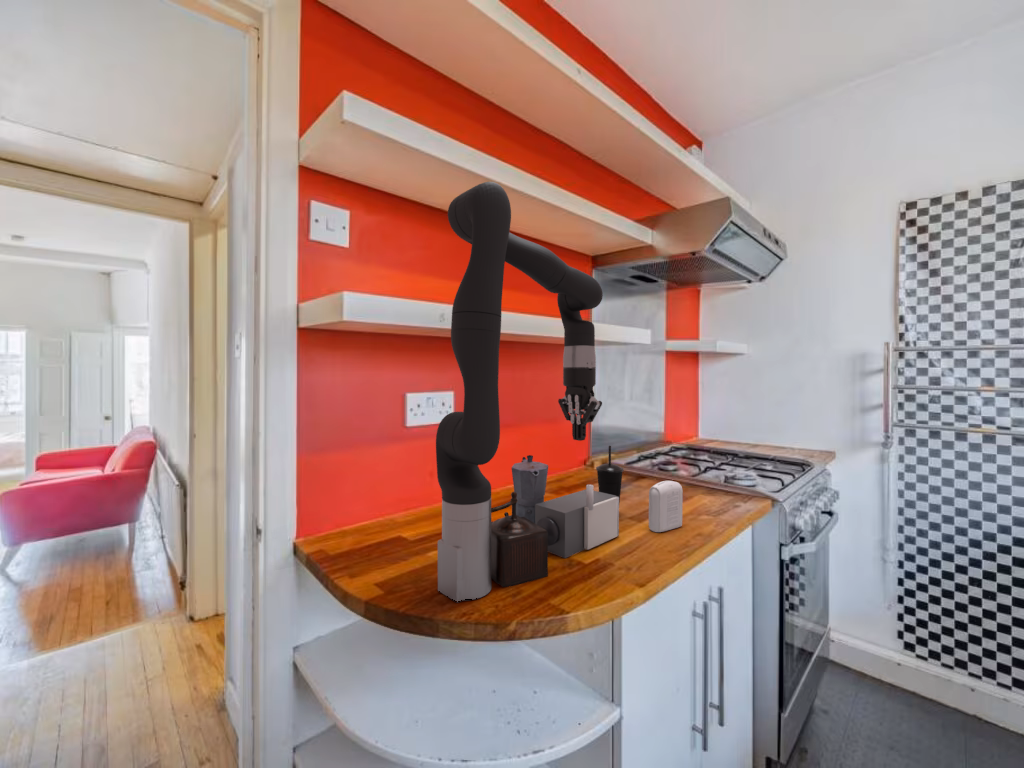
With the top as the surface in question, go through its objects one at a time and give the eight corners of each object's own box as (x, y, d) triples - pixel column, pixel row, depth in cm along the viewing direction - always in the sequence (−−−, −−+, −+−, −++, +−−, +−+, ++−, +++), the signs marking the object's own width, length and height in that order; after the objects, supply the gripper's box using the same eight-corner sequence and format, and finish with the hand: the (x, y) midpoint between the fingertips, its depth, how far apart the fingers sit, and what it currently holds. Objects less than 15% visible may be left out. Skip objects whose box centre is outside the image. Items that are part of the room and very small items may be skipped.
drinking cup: (621, 511, 130) (621, 443, 129) (625, 520, 122) (625, 448, 122) (594, 511, 130) (595, 443, 130) (597, 519, 123) (597, 447, 122)
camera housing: (561, 560, 96) (561, 514, 96) (531, 548, 102) (531, 505, 102) (616, 535, 111) (616, 495, 110) (586, 526, 117) (587, 489, 117)
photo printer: (671, 522, 121) (671, 477, 120) (684, 526, 117) (685, 480, 117) (645, 529, 115) (646, 482, 115) (659, 534, 111) (659, 485, 111)
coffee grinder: (522, 556, 98) (522, 475, 98) (549, 576, 88) (549, 487, 88) (456, 571, 91) (456, 484, 90) (478, 595, 81) (477, 497, 80)
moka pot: (519, 544, 105) (519, 460, 104) (503, 523, 119) (502, 450, 119) (556, 540, 107) (557, 458, 107) (536, 520, 122) (536, 448, 122)
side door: (589, 550, 100) (590, 486, 100) (584, 548, 101) (584, 485, 101) (621, 535, 109) (621, 477, 109) (616, 534, 110) (616, 476, 110)
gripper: (548, 366, 107) (548, 437, 107) (587, 365, 96) (587, 445, 96) (572, 366, 111) (572, 435, 111) (611, 365, 100) (611, 442, 100)
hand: (579, 439), depth 104 cm, fingers closed
